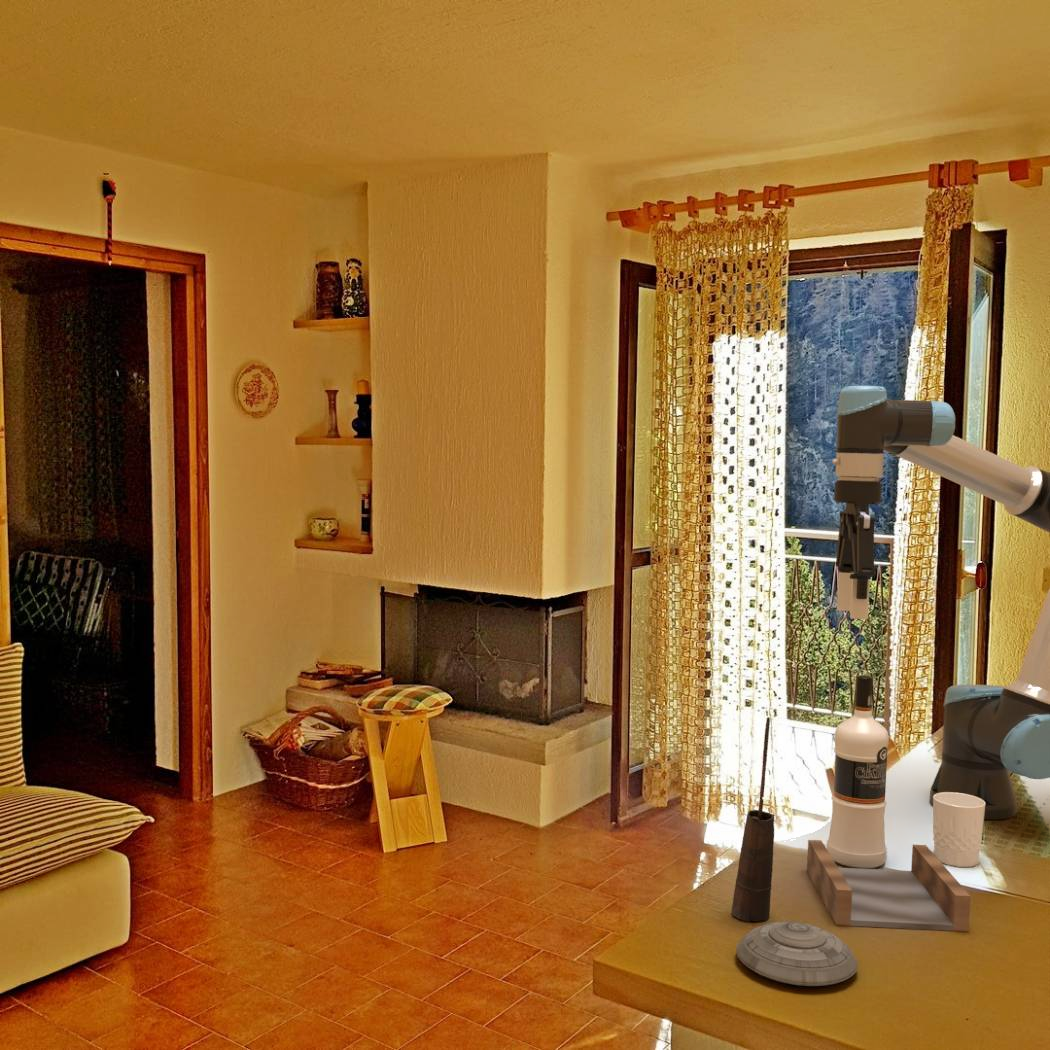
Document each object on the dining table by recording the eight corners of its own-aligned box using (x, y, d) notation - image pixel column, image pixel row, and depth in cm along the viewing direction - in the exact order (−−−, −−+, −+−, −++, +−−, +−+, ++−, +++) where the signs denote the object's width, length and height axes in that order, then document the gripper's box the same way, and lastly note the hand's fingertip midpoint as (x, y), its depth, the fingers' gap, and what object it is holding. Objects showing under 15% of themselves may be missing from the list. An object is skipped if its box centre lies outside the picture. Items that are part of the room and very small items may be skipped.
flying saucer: (882, 988, 136) (884, 944, 136) (772, 1002, 132) (774, 957, 132) (816, 936, 151) (818, 897, 150) (715, 947, 147) (717, 907, 146)
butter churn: (761, 939, 149) (770, 732, 147) (702, 917, 155) (710, 719, 154) (797, 919, 155) (806, 721, 154) (738, 899, 162) (746, 709, 160)
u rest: (806, 871, 174) (808, 839, 174) (924, 876, 173) (925, 845, 173) (835, 925, 154) (837, 889, 154) (968, 931, 153) (970, 896, 153)
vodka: (852, 846, 186) (860, 668, 184) (898, 864, 178) (907, 678, 176) (813, 855, 181) (822, 672, 179) (859, 874, 173) (868, 683, 171)
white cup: (983, 872, 176) (986, 809, 175) (929, 864, 178) (933, 803, 178) (981, 855, 183) (984, 795, 182) (930, 848, 186) (933, 789, 185)
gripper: (821, 477, 196) (816, 605, 198) (851, 480, 175) (844, 623, 176) (864, 478, 196) (858, 606, 197) (899, 481, 175) (892, 624, 176)
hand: (852, 614), depth 187 cm, fingers open, 9 cm apart
